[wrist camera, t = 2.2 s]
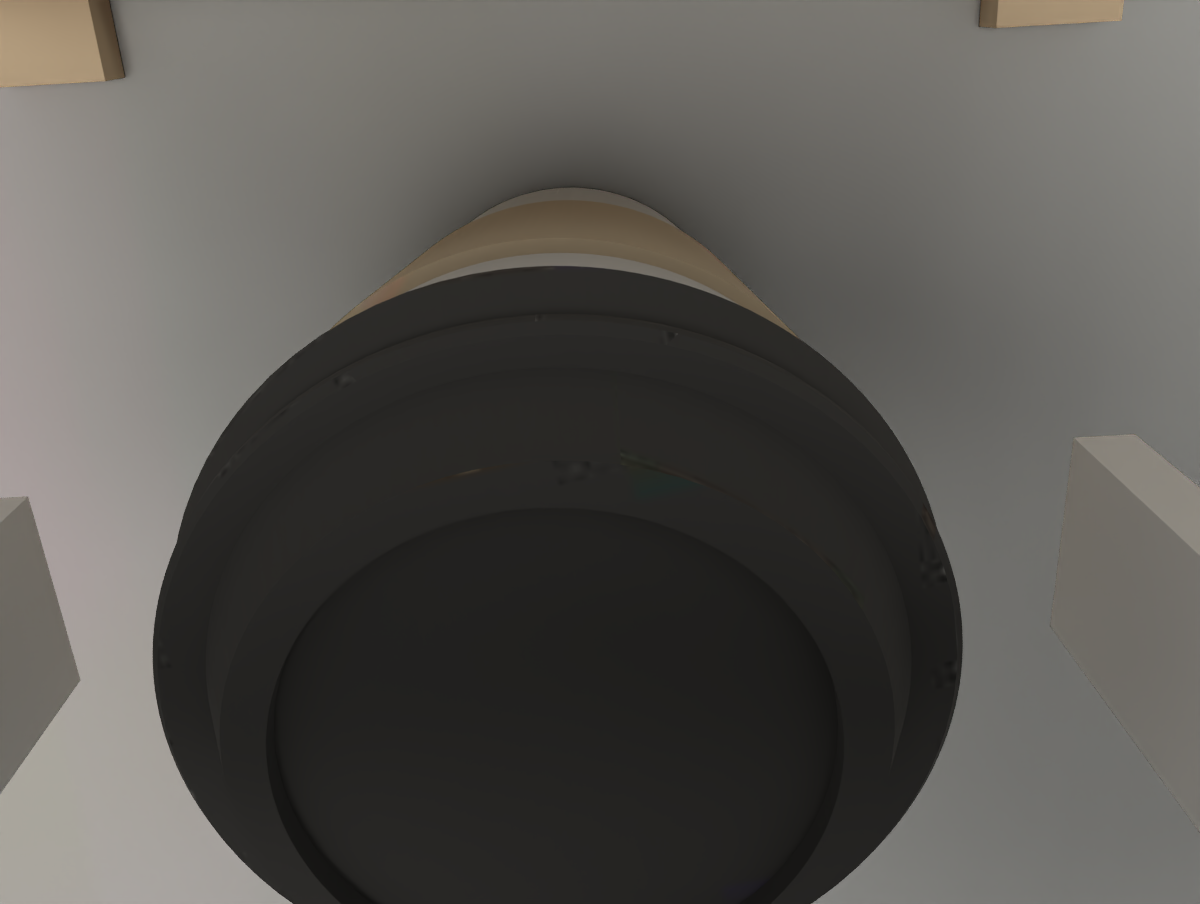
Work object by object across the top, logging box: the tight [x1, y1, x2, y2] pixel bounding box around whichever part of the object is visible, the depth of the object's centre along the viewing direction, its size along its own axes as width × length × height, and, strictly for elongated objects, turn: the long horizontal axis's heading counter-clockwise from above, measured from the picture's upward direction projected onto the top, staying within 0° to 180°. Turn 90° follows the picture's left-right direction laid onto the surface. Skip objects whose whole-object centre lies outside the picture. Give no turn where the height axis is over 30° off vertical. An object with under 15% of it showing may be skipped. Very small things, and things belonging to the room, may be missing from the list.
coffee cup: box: [153, 188, 963, 904], centre depth 18 cm, size 9×9×15 cm
